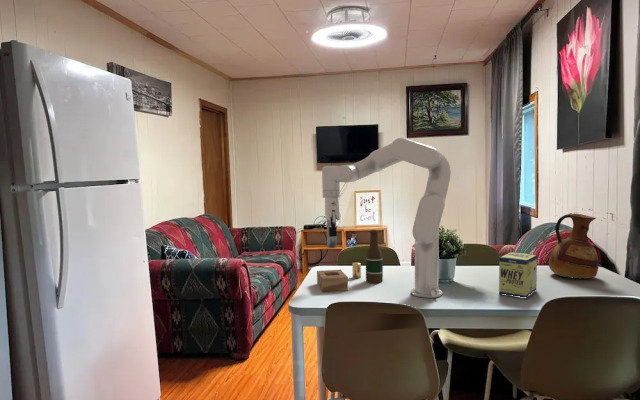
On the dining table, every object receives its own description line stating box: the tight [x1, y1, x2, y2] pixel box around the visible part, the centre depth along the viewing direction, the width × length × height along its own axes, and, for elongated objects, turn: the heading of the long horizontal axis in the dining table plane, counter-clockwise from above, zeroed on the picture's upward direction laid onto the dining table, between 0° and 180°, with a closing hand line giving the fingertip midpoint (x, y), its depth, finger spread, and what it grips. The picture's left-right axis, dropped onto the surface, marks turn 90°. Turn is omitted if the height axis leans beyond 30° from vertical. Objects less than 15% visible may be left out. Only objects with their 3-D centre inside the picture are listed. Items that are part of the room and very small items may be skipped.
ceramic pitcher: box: [548, 212, 599, 279], centre depth 200 cm, size 20×20×30 cm
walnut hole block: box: [316, 269, 349, 293], centre depth 189 cm, size 14×11×6 cm
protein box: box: [498, 251, 538, 297], centre depth 176 cm, size 10×16×16 cm
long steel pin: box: [326, 217, 337, 249], centre depth 188 cm, size 4×4×14 cm
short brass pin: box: [352, 262, 362, 280], centre depth 206 cm, size 4×4×7 cm
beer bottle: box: [365, 229, 384, 284], centre depth 197 cm, size 8×8×24 cm
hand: (331, 235), depth 188 cm, fingers closed on long steel pin, 4 cm apart
